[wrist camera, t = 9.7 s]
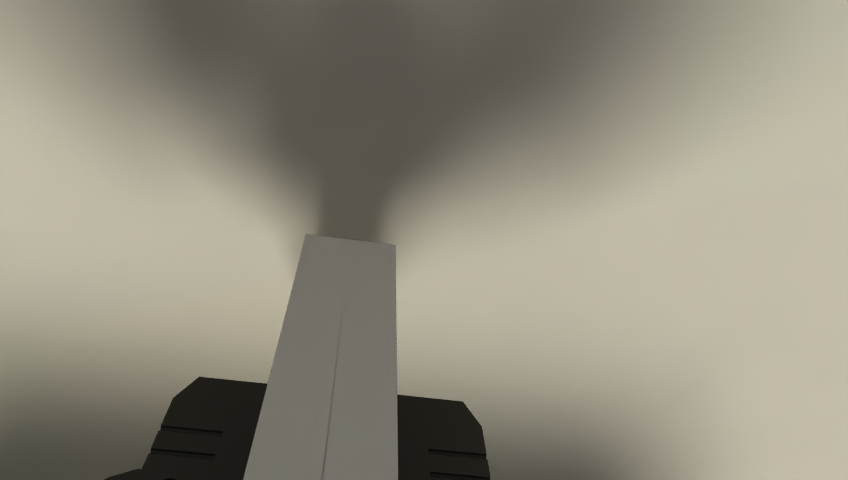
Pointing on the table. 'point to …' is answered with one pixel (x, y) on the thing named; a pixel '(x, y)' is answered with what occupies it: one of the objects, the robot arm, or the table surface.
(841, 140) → the table surface
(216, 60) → the table surface
